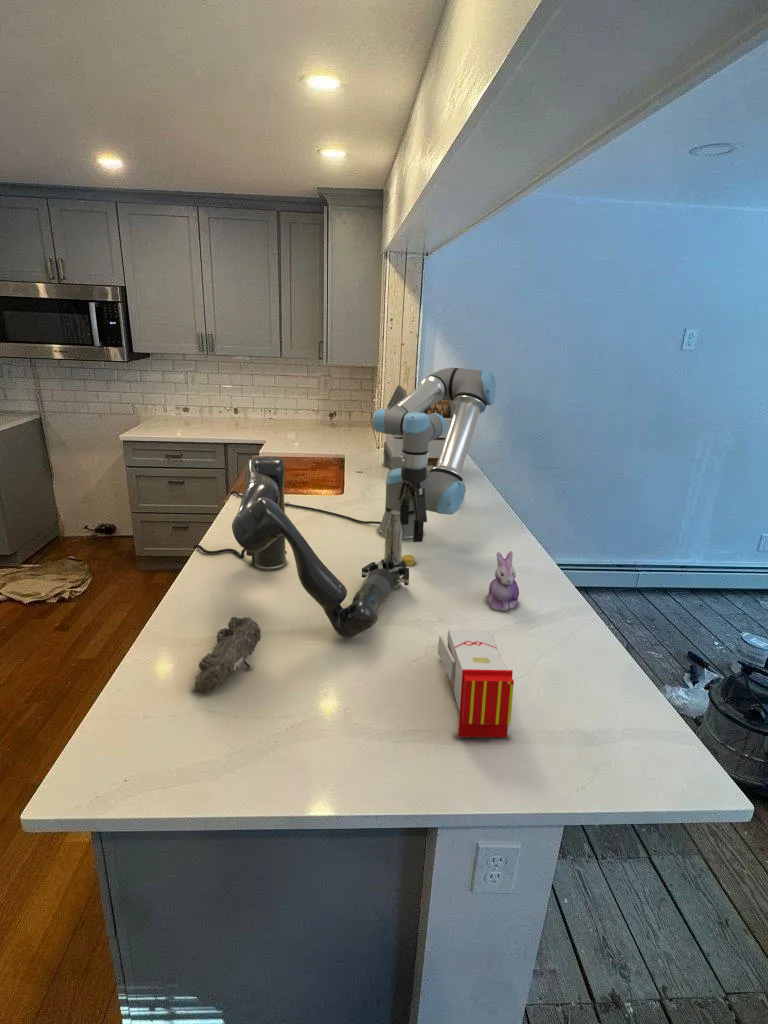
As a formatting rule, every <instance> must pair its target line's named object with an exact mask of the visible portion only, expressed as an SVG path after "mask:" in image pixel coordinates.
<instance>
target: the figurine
mask: <svg viewBox="0 0 768 1024" xmlns="http://www.w3.org/2000/svg"><path fill="white" fill-rule="evenodd" d="M513 556H514V553H513V551H512V550H510V551H508V553H507V555H506V556H505V558H504V556H503V555H502V553H501V552H500V551H497V552H496V562H497V563H496V564H497V567H496V569H495V571H494V576H495V578H494V579H492V581H491V582H489V585H488V596H487V601H488V602H487V603H489V605H491V608H492V609H493V610H496V611H497V610H498V611H503V612H505V611H507V610H511V609H514V608H515V606H516V605H517V603H518V599H519V596H520V590H519V585H518V583H517V581H516V576H517V575H516V571H515V568H514V566H513Z"/></svg>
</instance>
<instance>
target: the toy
mask: <svg viewBox="0 0 768 1024" xmlns="http://www.w3.org/2000/svg"><path fill="white" fill-rule="evenodd" d="M446 640H447V643H446V641H445V639H444V636H443V635H442V634H439V637H438V646H437V656H438V657H439V659H440V661H441V663H442V666H443V668H444V670H445V672H446V674H447V677H448V679H449V681H450V684H451V687H452V690H453V693H454V697H455V701H456V705H457V708H458V711H459V714H458V715H459V716H458V730H457V731H458V732H457V737H458V738H508V731H509V726H510V725H511V717H512V707H513V697H514V696H513V695H514V684H515V680H514V679H513V673H514V671H513V670H512V669H508V667H507V665H506V662H505V661H504V659H503V658H502V655H501V653H500V651H499V649H498V647H497V643H496V639H495V637H494V635H493V634H491V632H490V631H489V629H467V628H466V629H465V628H463V629H461V628H460V629H459V628H448V630H447V639H446Z"/></svg>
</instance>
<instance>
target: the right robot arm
mask: <svg viewBox="0 0 768 1024" xmlns="http://www.w3.org/2000/svg"><path fill="white" fill-rule="evenodd" d="M495 377H496V376H495V375H494V372H492V371H490V370H484V369H473V368H464V367H463V368H461V367H446V368H443V369H440V370H437V371H434V372H431V374H429V375H428V376H426V377H424V378H423V380H421V382H420V384H419V386H418V387H417V388H415V389H414V390H412V391H411V392H410V393H408V394H407V396H406V397H405V398H403V399H402V400H401V401H400V402H398V403H397V404H396V405H394V406H393V407H392V408H391V409H387V408H377V409H376V410H375V412H374V414H373V417H372V427H373V429H374V431H375V432H377V433H380V434H384V435H386V434H391V435H398V436H403V447H402V456H400V458H401V459H402V465H403V466H402V467H401V468H397V469H393V470H391V471H390V470H389V471H388V473H387V475H386V480H385V504H384V505H385V507H384V508H385V509H384V513H383V515H382V519H381V521H377V520H376V521H374V520H373V521H372V520H369V521H368V520H367V521H365V520H360V519H356V518H353V517H350V516H348V515H344V514H340V513H336V512H333V511H328V510H324V509H319V508H314V507H311V506H310V507H309V506H303V505H298V504H291V503H288V502H287V503H286V502H284V504H285V506H286V507H293V508H298V509H304V510H310V511H315V512H319V513H324V514H328V515H332V516H336V517H339V518H343V519H346V520H350V521H353V522H356V523H359V524H366V525H368V524H369V525H371V524H373V525H379V527H378V533H379V534H380V535H381V536H382V537H385V534H386V526H387V524H388V522H389V520H390V511H393V510H396V511H399V512H400V521H401V525H402V529H403V532H402V541H410V540H412V542H413V543H421V542H424V541H423V540H424V539H423V538H424V523H428V516H427V512H432V513H436V514H439V515H448V516H449V515H453V514H455V513H456V512H457V511H459V509H460V508H461V506H462V505H463V501H464V499H465V493H466V485H465V483H464V482H463V481H464V477H463V476H462V474H460V473H462V470H463V466H464V463H465V460H466V457H467V454H468V450H469V447H470V444H471V441H472V438H473V435H474V432H475V428H476V426H477V422H478V419H479V416H480V415H481V414H483V413H484V412H485V411H486V408H487V406H492V405H493V404H494V403H495V398H496V391H497V390H496V389H497V387H496V383H497V382H496V378H495ZM441 400H452V401H453V403H454V405H455V407H456V408H455V411H454V414H453V417H452V420H451V423H450V426H449V429H448V432H447V435H446V438H445V441H444V444H443V447H442V450H441V453H440V456H439V459H438V462H437V465H436V466H432V468H430V469H429V472H428V466H427V461H428V442H429V441H431V440H434V439H437V438H438V437H440V436H441V435H442V434H443V433H444V431H445V429H446V422H445V419H444V418H443V417H442V416H441V415H440V414H437V413H430V414H425V413H422V412H423V411H425V410H426V409H427V408H428V407H429V406H430V405H432V404H433V403H437V402H439V401H441ZM427 473H428V475H427ZM230 494H231V495H233V494H235V495H236V496H238V497H239V498H242V494H240V493H238V492H237V491H236V490H232V491H231V492H230Z"/></svg>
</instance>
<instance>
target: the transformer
mask: <svg viewBox="0 0 768 1024" xmlns="http://www.w3.org/2000/svg"><path fill="white" fill-rule="evenodd" d="M407 395H408V393H407V390H406V389H404V388H403V387H402V385H399V384H398V385H397V386H396V388H395V390H394V392H393V394H392V395H391V398H390V400H389V402H388V404H387V405H386V409H391V408H392V407H393V406H394V405H396V404H397V403H398V402H400V401H401V400H402V399H403V398H405V397H406V396H407ZM455 408H456V407H455V405H454V403H453V401H452V400H441V401H439V402H437V403H433V404H432V405H430V406H429V407H428V408H427V409H426V410H425V411H423V412H422V413H425V414H430V413H437V414H440V415H441V416H442V417H443V418H444V419H445V422H446V429H445V431H444V433H443V434H442V435H441V436H440V437H438V438H437V439H434V440H431V441H429V442H428V461H427V466H426V467H436V465H437V462H438V459H439V456H440V453H441V450H442V447H443V444H444V441H445V438H446V435H447V432H448V429H449V426H450V423H451V420H452V417H453V414H454V411H455ZM402 447H403V436H398V435H391V434H385V438H384V442H383V466H384V467H388V468H389V472H390V471H391V470H393V469H397V468H401V467H402V466H403V465H402V459H401V458H400V456H402ZM461 473H462V472H461ZM461 473H460V474H461ZM461 475H462V474H461Z"/></svg>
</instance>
